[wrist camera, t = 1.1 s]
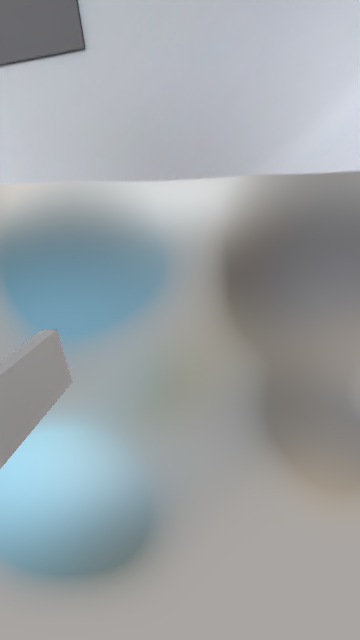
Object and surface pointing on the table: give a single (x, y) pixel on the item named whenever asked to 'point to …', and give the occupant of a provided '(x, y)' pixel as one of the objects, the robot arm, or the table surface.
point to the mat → (38, 29)
